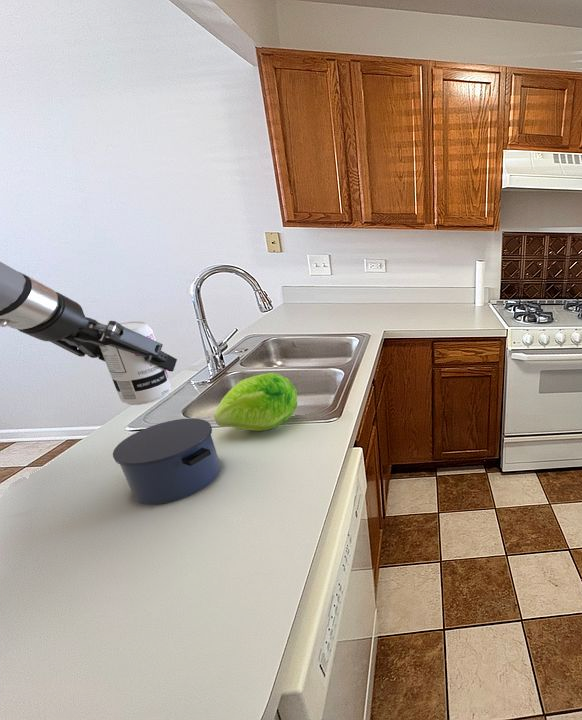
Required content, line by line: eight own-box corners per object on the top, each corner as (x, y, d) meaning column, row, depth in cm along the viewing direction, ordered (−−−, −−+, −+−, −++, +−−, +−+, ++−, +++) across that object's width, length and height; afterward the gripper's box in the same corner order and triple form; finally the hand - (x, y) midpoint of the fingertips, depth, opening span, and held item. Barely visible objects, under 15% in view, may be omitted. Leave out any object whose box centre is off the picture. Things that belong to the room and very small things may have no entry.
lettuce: (226, 431, 111) (205, 382, 106) (300, 406, 121) (284, 360, 116) (226, 455, 98) (202, 401, 93) (310, 424, 107) (292, 373, 102)
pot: (107, 493, 85) (88, 451, 81) (185, 449, 100) (173, 412, 96) (171, 517, 78) (153, 473, 74) (245, 466, 93) (234, 427, 89)
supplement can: (130, 392, 83) (104, 323, 77) (177, 385, 86) (155, 318, 80) (114, 409, 76) (85, 335, 70) (166, 401, 79) (142, 329, 73)
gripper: (-43, 331, 60) (95, 381, 81) (92, 331, 59) (196, 382, 80) (-18, 289, 63) (109, 348, 83) (111, 289, 62) (207, 348, 83)
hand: (152, 365), depth 82 cm, fingers closed on supplement can, 8 cm apart
